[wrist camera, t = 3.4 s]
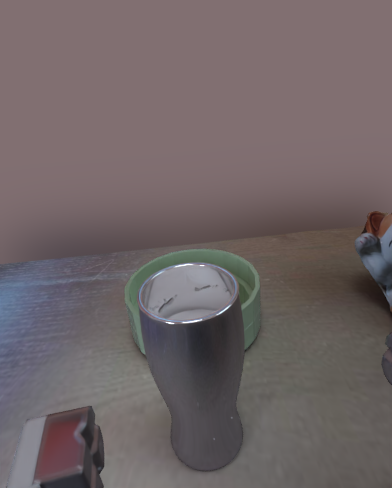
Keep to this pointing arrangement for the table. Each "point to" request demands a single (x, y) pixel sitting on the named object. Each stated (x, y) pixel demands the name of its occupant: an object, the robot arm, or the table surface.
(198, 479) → the table surface
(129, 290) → the green pan
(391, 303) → the lucky cat figurine
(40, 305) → the table surface
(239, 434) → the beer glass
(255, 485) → the table surface
